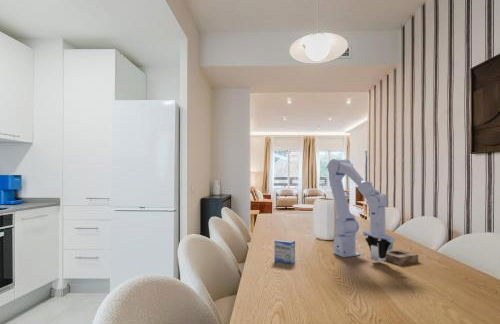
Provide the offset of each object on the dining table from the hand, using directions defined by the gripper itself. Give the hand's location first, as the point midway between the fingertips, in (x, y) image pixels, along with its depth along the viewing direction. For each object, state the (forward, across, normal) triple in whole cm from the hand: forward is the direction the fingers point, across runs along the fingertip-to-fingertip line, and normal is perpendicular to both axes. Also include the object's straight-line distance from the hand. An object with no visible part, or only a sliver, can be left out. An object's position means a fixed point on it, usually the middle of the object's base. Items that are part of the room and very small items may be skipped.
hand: (378, 256), depth 122 cm
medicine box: (+3, +18, +34) cm, 39 cm away
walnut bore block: (+3, 0, -11) cm, 11 cm away
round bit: (+3, +12, -18) cm, 22 cm away
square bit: (+2, 0, 0) cm, 2 cm away
